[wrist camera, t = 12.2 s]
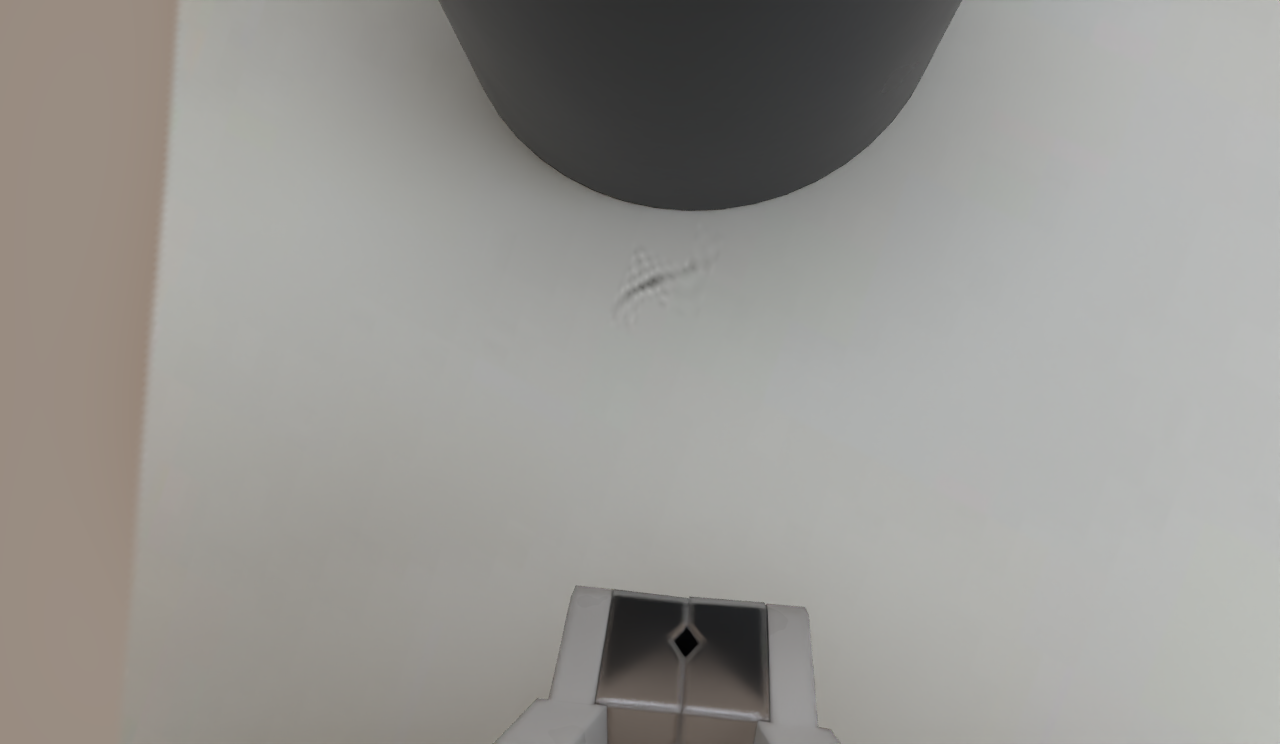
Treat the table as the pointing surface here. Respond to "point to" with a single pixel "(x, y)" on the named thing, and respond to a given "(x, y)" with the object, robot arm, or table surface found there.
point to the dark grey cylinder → (698, 87)
